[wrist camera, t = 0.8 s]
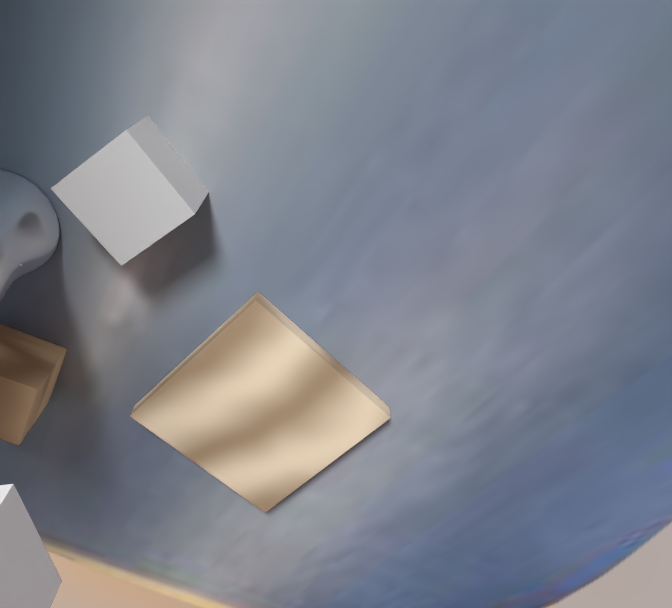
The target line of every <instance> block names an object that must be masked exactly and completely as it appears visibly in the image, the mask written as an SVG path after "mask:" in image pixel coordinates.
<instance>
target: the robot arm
mask: <svg viewBox="0 0 672 608" xmlns="http://www.w3.org/2000/svg"><path fill="white" fill-rule="evenodd" d="M61 581H62V580H61V578H60V576H59V574H58V572H57V570H56V568H55V566H54V564H53V562H52V560H51V558H50V556H49V554H48V552H47V550H46V548H45V546H44V544H43V542H42V540H41V538H40V536H39V534H38V532H37V530H36V528H35V526H34V524H33V522H32V520H31V518H30V516H29V514H28V512H27V510H26V508H25V506H24V504H23V502H22V500H21V498H20V496H19V494H18V492H17V490H16V488H15V486H14V484H8V485H0V608H50V606H51V604H52V602H53V599H54V597H55V595H56V592H57V590H58V588H59V586H60V583H61Z"/></svg>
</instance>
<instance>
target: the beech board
mask: <svg viewBox="0 0 672 608" xmlns="http://www.w3.org/2000/svg"><path fill="white" fill-rule="evenodd" d="M130 417H132V418H133V419H135V420H136V421H137V422H139V423H140V424H142V425H143V426H144V427H146V428H147V429H149V430H150V431H151V432H153V433H154V434H156V435H157V436H158V437H160V438H161V439H163V440H164V441H165V442H167V443H168V444H170V445H171V446H172V447H174V448H175V449H177V450H178V451H179V452H181V453H182V454H184V455H185V456H186V457H188V458H189V459H191V460H192V461H193V462H195V463H196V464H198V465H199V466H200V467H202V468H203V469H205V470H206V471H207V472H209V473H210V474H212V475H213V476H214V477H216V478H217V479H219V480H220V481H221V482H223V483H224V484H226V485H227V486H228V487H230V488H231V489H233V490H234V491H235V492H237V493H238V494H240V495H241V496H242V497H244V498H245V499H247V500H248V501H249V502H251V503H252V504H254V505H255V506H256V507H258V508H259V509H261V510H262V511H263V512H267V511H268V510H269V509H271V508H272V507H273V506H275V505H276V504H277V503H279V502H280V501H281V500H283V499H284V498H285V497H286V496H288V495H289V494H290V493H292V492H293V491H294V490H296V489H297V488H298V487H300V486H301V485H302V484H304V483H305V482H306V481H308V480H309V479H310V478H312V477H313V476H314V475H316V474H317V473H318V472H320V471H321V470H322V469H324V468H325V467H326V466H328V465H329V464H330V463H332V462H333V461H334V460H335V459H337V458H338V457H339V456H341V455H342V454H343V453H345V452H346V451H347V450H349V449H350V448H351V447H353V446H354V445H355V444H357V443H358V442H359V441H361V440H362V439H363V438H365V437H366V436H367V435H369V434H370V433H371V432H373V431H374V430H375V429H377V428H378V427H379V426H381V425H382V424H383V423H384V422H386V421H387V420H388V419H390V418H391V417H390V410H389V406H387V405H386V404H385V403H384V402H383V401H382V400H381V399H380V398H378V397H377V396H376V395H375V394H374V393H373V392H372V391H370V390H369V389H368V388H367V387H366V386H365V385H364V384H362V383H361V382H360V381H359V380H358V379H357V378H356V377H354V376H353V375H352V374H351V373H350V372H349V371H348V370H347V369H345V368H344V367H343V366H342V365H341V364H340V363H339V362H337V361H336V360H335V359H334V358H333V357H332V356H331V355H329V354H328V353H327V352H326V351H325V350H324V349H323V348H321V347H320V346H319V345H318V344H317V343H316V342H315V341H313V340H312V339H311V338H310V337H309V336H308V335H307V334H306V333H304V332H303V331H302V330H301V329H300V328H299V327H298V326H296V325H295V324H294V323H293V322H292V321H291V320H290V319H288V318H287V317H286V316H285V315H284V314H283V313H282V312H280V311H279V310H278V309H277V308H276V307H275V306H274V305H273V304H271V303H270V302H269V301H268V300H267V299H266V298H265V297H263V296H262V295H261V294H260V293H259V292H257V293H256V294H255V295H254V296H253V297H251V298H250V299H249V300H248V301H247V302H246V303H245V304H244V305H243V306H242V307H241V308H240V309H238V310H237V311H236V312H235V313H234V314H233V315H232V316H231V317H230V318H229V319H228V320H226V321H225V322H224V323H223V324H222V325H221V326H220V327H219V328H218V329H217V330H216V331H215V332H213V333H212V334H211V335H210V336H209V337H208V338H207V339H206V340H205V341H204V342H203V343H202V344H200V345H199V346H198V347H197V348H196V349H195V350H194V351H193V352H192V353H191V354H190V355H189V356H187V357H186V358H185V359H184V360H183V361H182V362H181V363H180V364H179V365H178V366H177V367H176V368H174V369H173V370H172V371H171V372H170V373H169V374H168V375H167V376H166V377H165V378H164V379H162V380H161V381H160V382H159V383H158V384H157V385H156V386H155V387H154V388H153V389H152V390H151V391H149V392H148V393H147V394H146V395H145V396H144V397H143V398H142V399H141V400H140V401H139V402H138V403H136V404H135V406H134V408H133V410H132V412H131V414H130Z"/></svg>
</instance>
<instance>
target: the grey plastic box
mask: <svg viewBox="0 0 672 608" xmlns="http://www.w3.org/2000/svg"><path fill="white" fill-rule="evenodd" d="M50 189H51V190H52V191H53V192H54V193H55V194H56V195H57V196H58V197H59V198H60V199H61V201H62V202H63V203H64V204H65V205H66V206H67V207H68V208H69V209H70V210H71V211H72V213H73V214H74V215H75V216H76V217H77V218H78V219H79V220H80V221H81V222H82V223H83V225H84V226H85V227H86V228H87V229H88V230H89V231H90V232H91V233H92V234H93V236H94V237H95V238H96V239H97V240H98V241H99V242H100V243H101V244H102V245H103V246H104V248H105V249H106V250H107V251H108V252H109V253H110V254H111V255H112V256H113V257H114V258H115V260H116V261H117V262H118V263H119V264H120V265H121V266H122V265H123V264H125V263H126V262H128V261H129V260H130V259H132V258H133V257H135V256H136V255H138V254H139V253H140V252H142V251H143V250H145V249H146V248H148V247H149V246H150V245H152V244H153V243H155V242H156V241H157V240H159V239H160V238H162V237H163V236H165V235H166V234H167V233H169V232H170V231H172V230H173V229H175V228H176V227H177V226H179V225H180V224H182V223H183V222H185V221H186V220H187V219H189V218H190V217H192V216H193V215H194V214H195V213H196V212H197V210H198V209H199V207H200V205H201V204H202V202H203V200H204V199H205V197H206V196H207V194H208V191H207V189H206V188H205V187H204V186H203V184H202V183H201V182H200V181H199V179H198V178H197V177H196V176H195V174H194V173H193V172H192V171H191V169H190V168H189V167H188V166H187V164H186V163H185V162H184V161H183V159H182V158H181V157H180V156H179V154H178V153H177V152H176V151H175V149H174V148H173V147H172V145H171V144H170V143H169V142H168V140H167V139H166V138H165V137H164V135H163V134H162V133H161V132H160V130H159V129H158V128H157V127H156V125H155V124H154V123H153V122H152V120H151V119H150V118H149V117H148V116H147V117H145V118H144V119H142V120H141V121H139V122H138V123H136V124H135V125H133V126H131V127H130V128H128V129H127V130H125V131H124V132H123V133H121V134H120V135H119V136H118V137H116V138H115V139H114V140H112V141H111V142H110V143H109V144H107V145H106V146H105V147H103V148H102V149H101V150H100V151H98V152H97V153H96V154H94V155H93V156H92V157H90V158H89V159H88V160H87V161H85V162H84V163H83V164H81V165H80V166H79V167H78V168H76V169H75V170H74V171H72V172H71V173H70V174H69V175H67V176H66V177H65V178H63V179H62V180H61V181H59V182H58V183H57V184H56V185H54V186H53V187H52V188H50Z"/></svg>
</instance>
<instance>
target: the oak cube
mask: <svg viewBox="0 0 672 608" xmlns="http://www.w3.org/2000/svg"><path fill="white" fill-rule="evenodd" d="M66 351H67V349H66V348H63V347H61V346H58V345H55V344H53V343H50V342H47V341H45V340H42V339H39V338H37V337H34V336H31V335H29V334H26V333H23V332H21V331H18V330H15V329H13V328H10V327H7V326H5V325H2V324H0V439H1V440H4V441H7V442H10V443H13V444H16V445H20V443H21V442H22V441H23V439H24V438H25V436H26V435H27V433H28V432H29V430H30V429H31V427H32V426H33V424H34V423H35V422H36V420H37V419H38V417H39V416H40V414H41V413H42V411H43V410H44V408H45V407H46V406H47V404H48V403H49V401H50V398H51V395H52V392H53V389H54V386H55V383H56V380H57V377H58V374H59V371H60V369H61V366H62V363H63V360H64V357H65V354H66Z"/></svg>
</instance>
